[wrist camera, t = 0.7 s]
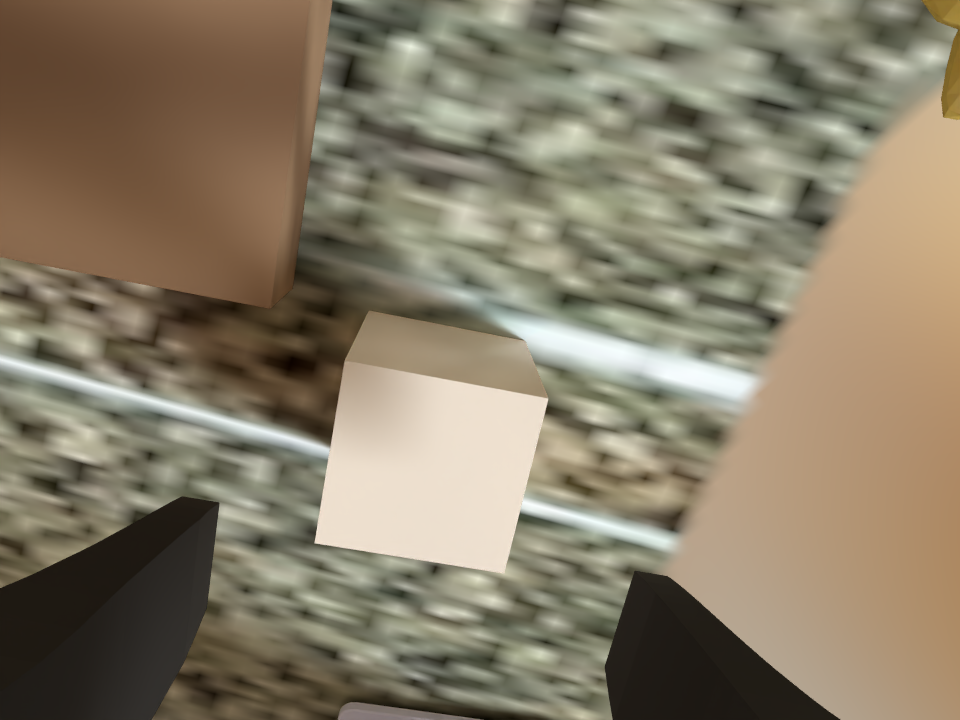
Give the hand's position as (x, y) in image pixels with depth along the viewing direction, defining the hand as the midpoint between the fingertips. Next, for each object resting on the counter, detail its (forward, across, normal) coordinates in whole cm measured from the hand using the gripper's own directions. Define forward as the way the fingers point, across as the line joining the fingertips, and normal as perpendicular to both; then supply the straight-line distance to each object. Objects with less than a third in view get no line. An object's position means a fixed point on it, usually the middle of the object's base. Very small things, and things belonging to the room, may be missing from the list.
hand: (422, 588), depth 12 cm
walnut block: (+10, +9, -7) cm, 15 cm away
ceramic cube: (+10, 0, 0) cm, 10 cm away
